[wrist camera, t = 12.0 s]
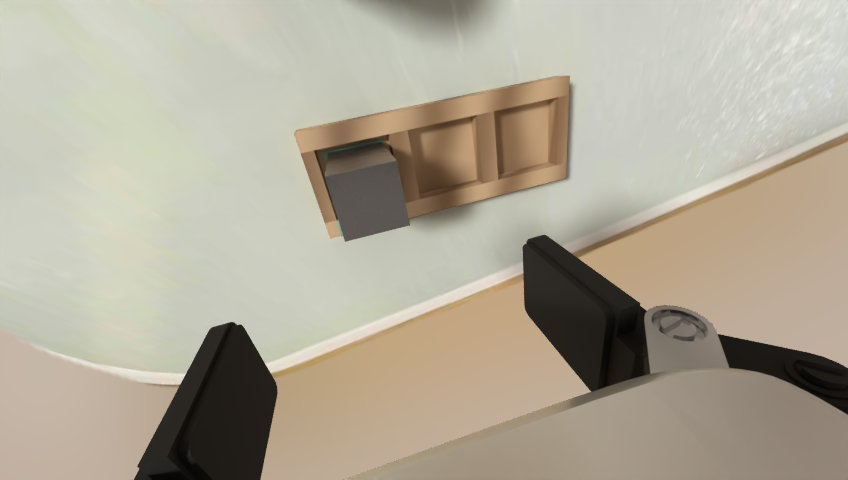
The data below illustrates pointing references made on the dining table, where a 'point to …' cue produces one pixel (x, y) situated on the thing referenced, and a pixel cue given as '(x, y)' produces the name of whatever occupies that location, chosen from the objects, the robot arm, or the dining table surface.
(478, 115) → the tray
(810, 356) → the robot arm
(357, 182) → the block
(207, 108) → the dining table surface
